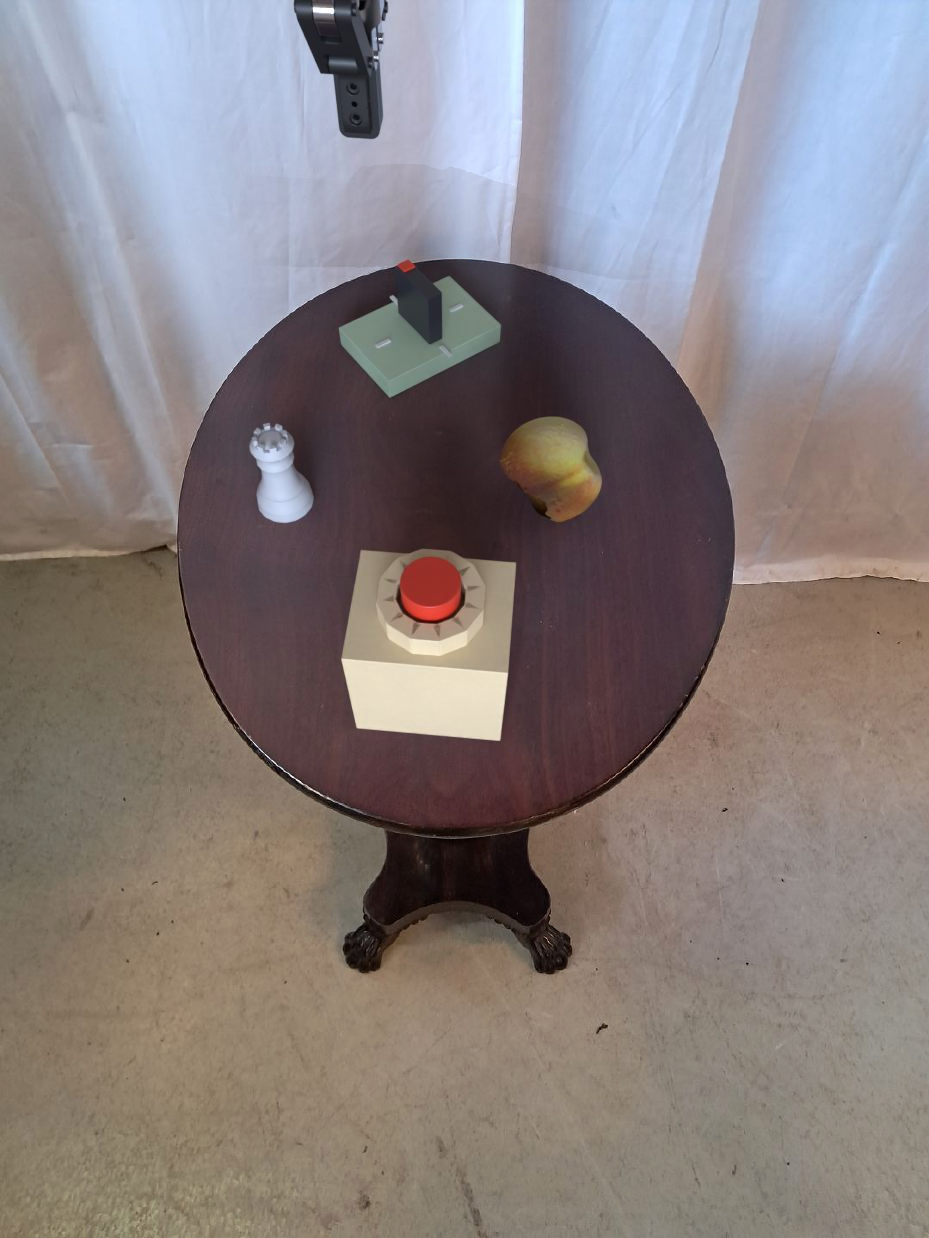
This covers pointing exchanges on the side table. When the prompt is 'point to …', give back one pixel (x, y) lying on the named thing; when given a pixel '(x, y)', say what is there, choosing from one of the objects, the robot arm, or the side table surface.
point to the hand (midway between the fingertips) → (362, 130)
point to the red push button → (430, 589)
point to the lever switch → (418, 340)
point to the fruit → (552, 466)
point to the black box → (419, 301)
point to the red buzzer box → (429, 650)
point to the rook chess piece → (279, 476)
